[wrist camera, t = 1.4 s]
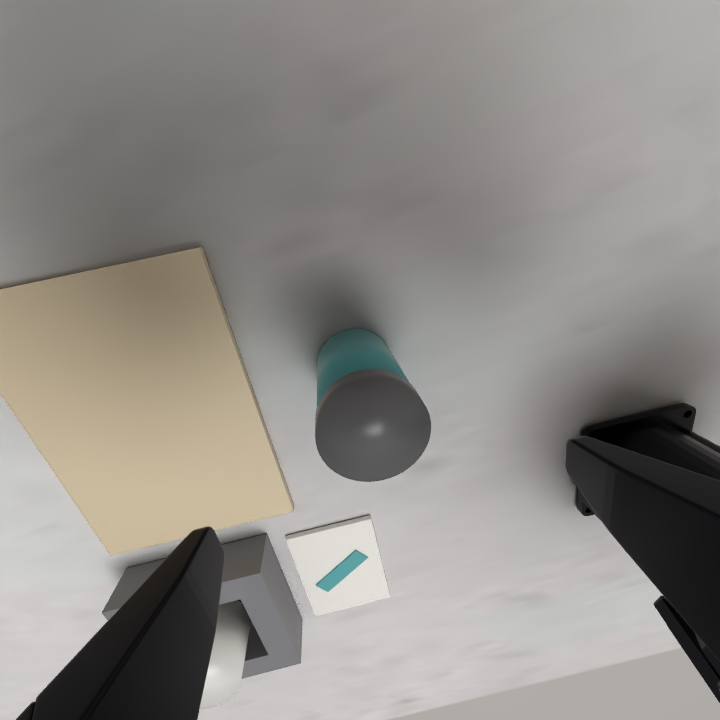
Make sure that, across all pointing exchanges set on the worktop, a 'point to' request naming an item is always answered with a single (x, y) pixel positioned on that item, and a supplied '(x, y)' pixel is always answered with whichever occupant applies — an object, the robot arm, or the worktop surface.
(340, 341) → the teal grey-topped cylinder
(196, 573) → the robot arm
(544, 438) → the worktop surface
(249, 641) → the button housing
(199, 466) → the paper pad
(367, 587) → the card
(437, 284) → the worktop surface
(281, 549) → the worktop surface
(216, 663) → the button
